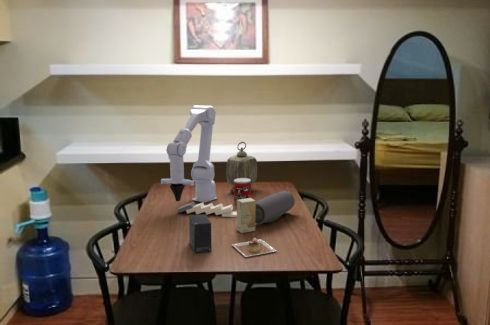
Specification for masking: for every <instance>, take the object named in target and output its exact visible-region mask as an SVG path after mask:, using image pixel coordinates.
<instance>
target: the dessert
mask: <svg viewBox="0 0 490 325" xmlns="http://www.w3.org/2000/svg"><path fill="white" fill-rule="evenodd" d="M260 244H261V245H263V246H264V247H266V249H269V251H267V252H262V253H257V254H250V255H246V253H244V252H242V250H240V248H238V247H241V246H247V245H248V246H247V248H246V249H247V251H249V252H259V251H260V250H261V247H260ZM230 245H231V246H233V248H235V250H236V251H238V252H239V253H240V254H241V255H242V256H243V257H245V258H249V257H255V256H261V255H267V254H272V253H276V252H277V251H278V250H277V249H276V248H274V247H273V246H271V245H270V244H269V243H268V242H266V241H265V240H263V239H262V238H260V239H257V238H256V237H253V238H252V240H249V241H243V242H238V243H232V244H230ZM236 246H237V247H236Z"/></svg>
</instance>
